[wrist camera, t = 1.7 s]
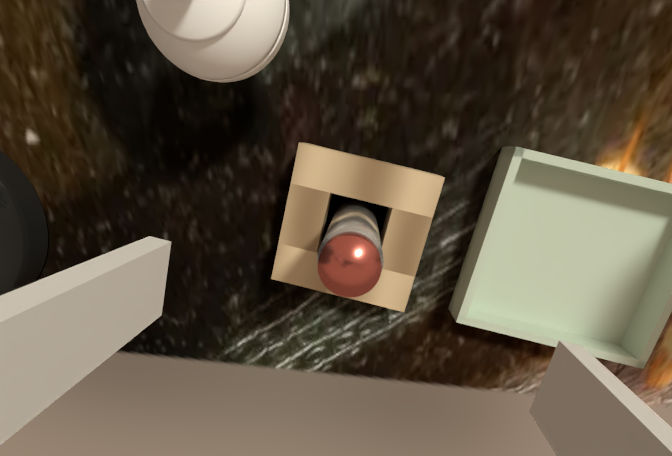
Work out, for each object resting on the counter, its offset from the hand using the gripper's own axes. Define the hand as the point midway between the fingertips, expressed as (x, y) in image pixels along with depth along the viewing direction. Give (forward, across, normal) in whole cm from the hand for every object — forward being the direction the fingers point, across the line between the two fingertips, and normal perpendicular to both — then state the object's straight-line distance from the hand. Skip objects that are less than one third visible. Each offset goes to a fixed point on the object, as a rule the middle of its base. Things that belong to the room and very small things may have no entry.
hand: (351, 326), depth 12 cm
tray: (+17, +16, +2) cm, 23 cm away
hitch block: (+17, 0, 0) cm, 17 cm away
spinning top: (+17, -10, +11) cm, 23 cm away
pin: (+17, 0, 0) cm, 17 cm away
